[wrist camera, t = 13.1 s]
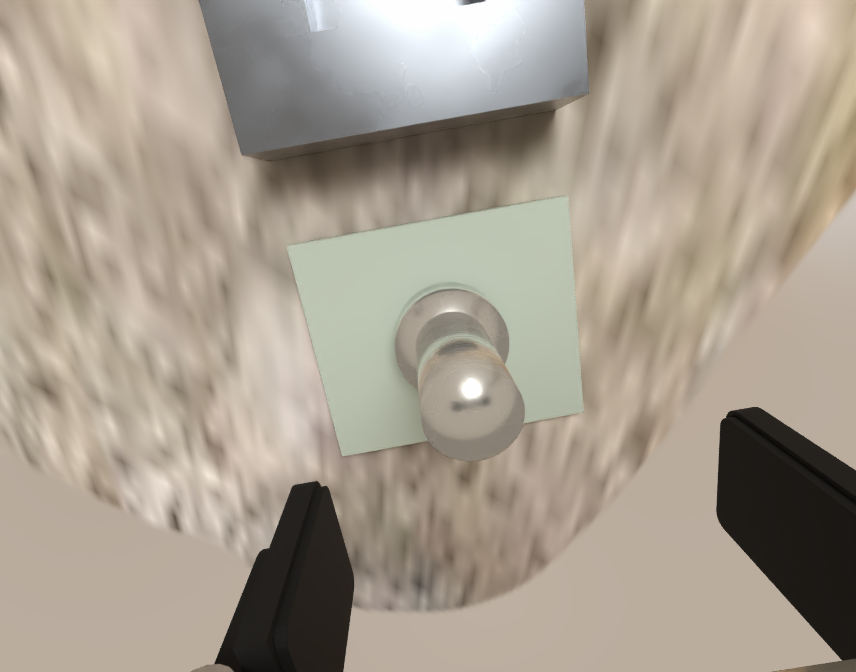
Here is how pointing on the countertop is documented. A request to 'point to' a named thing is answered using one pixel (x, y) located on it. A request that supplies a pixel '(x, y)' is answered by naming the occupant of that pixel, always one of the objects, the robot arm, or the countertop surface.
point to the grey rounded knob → (459, 371)
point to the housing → (389, 67)
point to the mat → (422, 267)
